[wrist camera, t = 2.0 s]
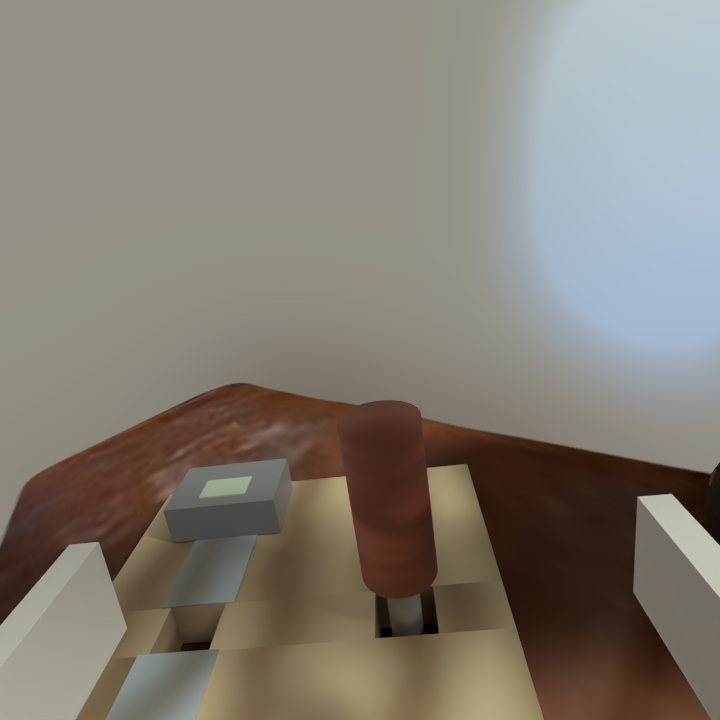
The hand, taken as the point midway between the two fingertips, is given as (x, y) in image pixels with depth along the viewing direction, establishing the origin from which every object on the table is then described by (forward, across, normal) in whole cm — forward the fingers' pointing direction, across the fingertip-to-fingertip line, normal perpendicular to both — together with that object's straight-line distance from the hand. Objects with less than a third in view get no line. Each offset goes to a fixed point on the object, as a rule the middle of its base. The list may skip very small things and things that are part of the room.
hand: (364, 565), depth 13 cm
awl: (+10, 0, -14) cm, 17 cm away
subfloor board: (+13, -6, -14) cm, 20 cm away
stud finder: (+20, -11, -11) cm, 25 cm away
